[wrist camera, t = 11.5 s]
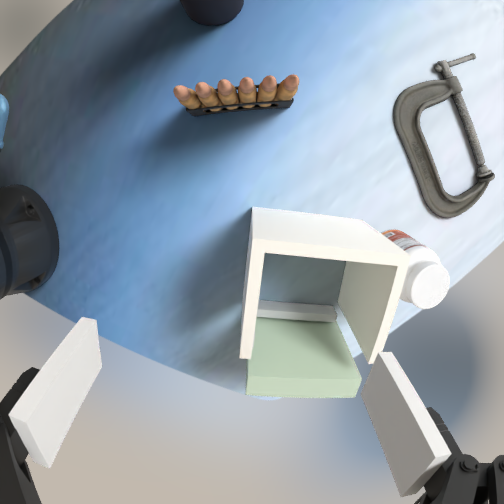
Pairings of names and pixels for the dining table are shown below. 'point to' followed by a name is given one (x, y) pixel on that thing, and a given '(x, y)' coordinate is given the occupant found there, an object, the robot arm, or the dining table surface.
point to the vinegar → (212, 10)
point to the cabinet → (327, 247)
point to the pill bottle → (421, 272)
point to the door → (300, 360)
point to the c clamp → (417, 148)
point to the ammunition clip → (238, 95)
